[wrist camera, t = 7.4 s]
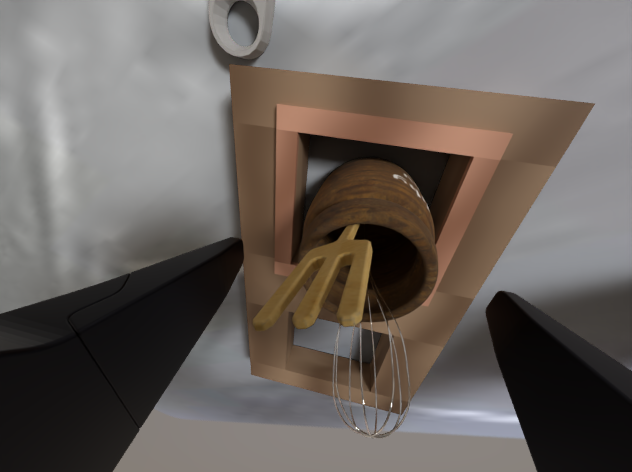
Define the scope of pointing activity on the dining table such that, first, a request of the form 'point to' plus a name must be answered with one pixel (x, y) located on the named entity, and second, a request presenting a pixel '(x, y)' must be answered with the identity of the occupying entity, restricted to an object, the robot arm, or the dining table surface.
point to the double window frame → (446, 209)
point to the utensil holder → (361, 259)
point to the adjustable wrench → (218, 18)
